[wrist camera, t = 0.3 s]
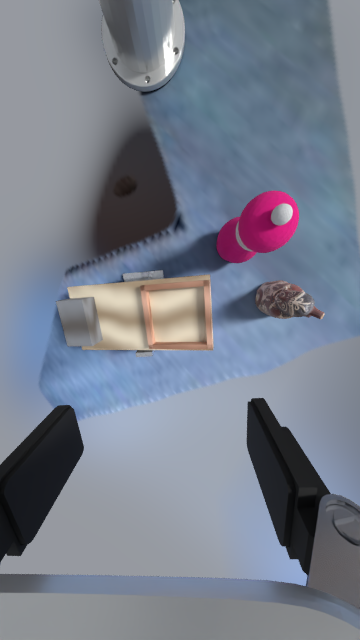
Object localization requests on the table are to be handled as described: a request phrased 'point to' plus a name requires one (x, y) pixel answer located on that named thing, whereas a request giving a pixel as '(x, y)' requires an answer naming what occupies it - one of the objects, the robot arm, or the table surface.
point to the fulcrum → (139, 277)
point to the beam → (140, 315)
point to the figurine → (285, 301)
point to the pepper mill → (259, 227)
